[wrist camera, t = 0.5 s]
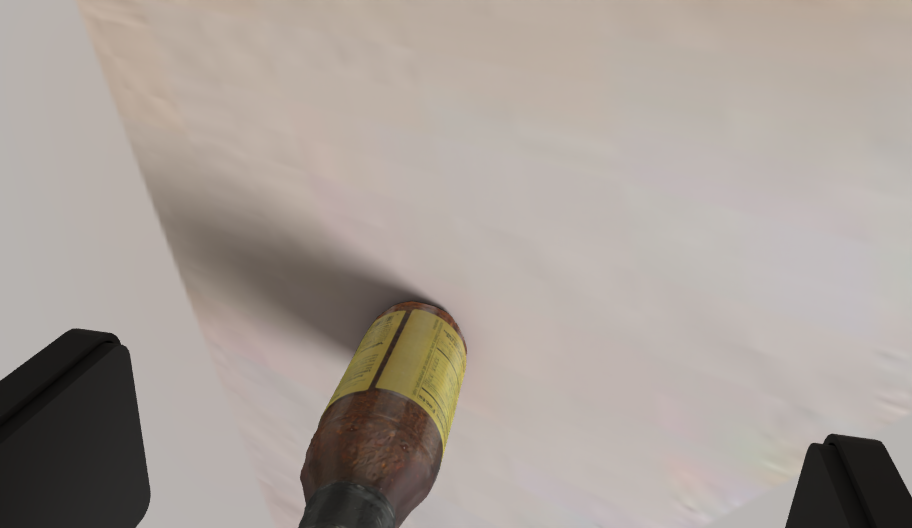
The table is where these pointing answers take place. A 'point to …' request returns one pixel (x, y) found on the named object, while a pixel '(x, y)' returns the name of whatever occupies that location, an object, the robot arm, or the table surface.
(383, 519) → the sauce bottle
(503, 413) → the table surface
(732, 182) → the table surface
